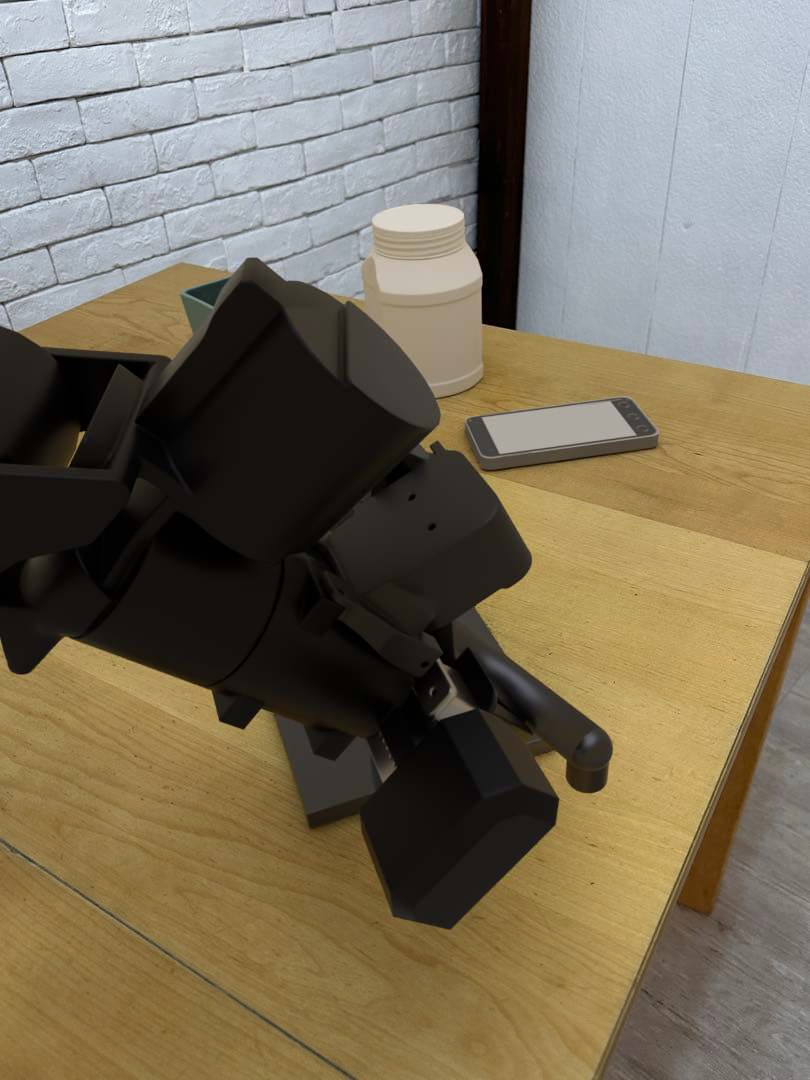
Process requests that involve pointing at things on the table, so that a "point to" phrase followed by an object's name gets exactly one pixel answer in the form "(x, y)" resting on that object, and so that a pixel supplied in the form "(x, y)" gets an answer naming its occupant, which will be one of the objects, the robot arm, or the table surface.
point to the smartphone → (559, 432)
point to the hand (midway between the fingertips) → (521, 734)
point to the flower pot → (201, 301)
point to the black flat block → (350, 761)
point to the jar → (427, 292)
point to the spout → (544, 713)
